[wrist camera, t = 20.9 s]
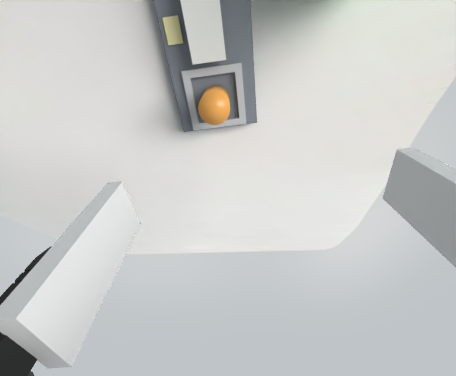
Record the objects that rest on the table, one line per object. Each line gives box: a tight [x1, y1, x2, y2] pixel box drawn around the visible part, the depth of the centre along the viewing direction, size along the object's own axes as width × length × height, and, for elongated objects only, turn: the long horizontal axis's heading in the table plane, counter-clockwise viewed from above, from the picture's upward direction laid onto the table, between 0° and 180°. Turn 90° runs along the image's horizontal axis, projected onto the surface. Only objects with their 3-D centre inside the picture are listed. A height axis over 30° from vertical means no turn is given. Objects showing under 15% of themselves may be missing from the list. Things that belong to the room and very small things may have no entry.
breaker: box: [180, 0, 226, 65], centre depth 27 cm, size 8×4×2 cm, turn 7°
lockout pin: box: [198, 84, 230, 125], centre depth 31 cm, size 4×4×7 cm
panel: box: [154, 0, 257, 132], centre depth 30 cm, size 26×12×3 cm, turn 7°
